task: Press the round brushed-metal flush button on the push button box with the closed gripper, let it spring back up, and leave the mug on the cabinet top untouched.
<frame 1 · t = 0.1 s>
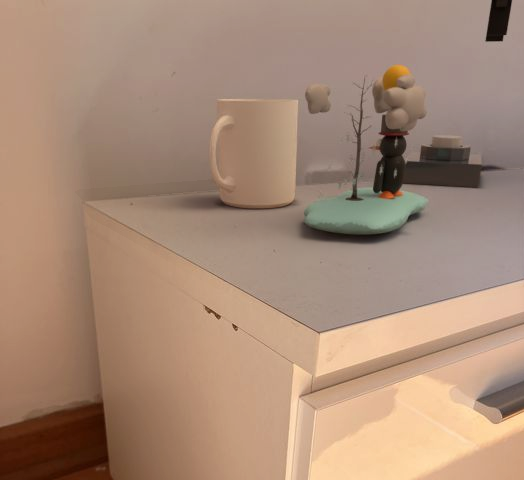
hand: (495, 38, 88), 20 cm above the table, tool pointing down, fingers open, 13 cm apart
push button box: (441, 179, 90), on the table
mug: (252, 205, 70), on the table
flush button: (446, 142, 88), point 5 cm above the table, slide at 0.1 cm
penguin figurine: (366, 223, 62), on the table
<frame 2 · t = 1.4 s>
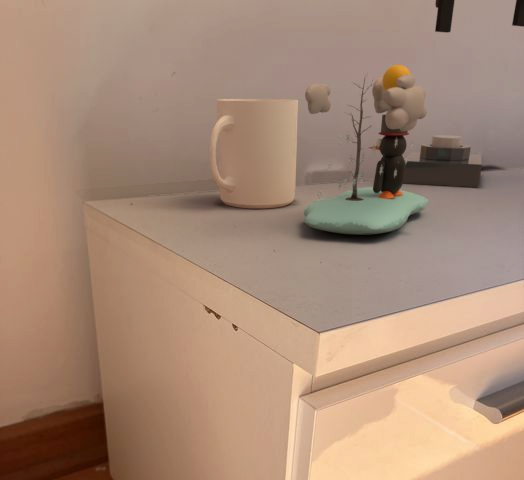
hand: (479, 29, 84), 21 cm above the table, tool pointing down, fingers open, 13 cm apart
nothing on the table moved.
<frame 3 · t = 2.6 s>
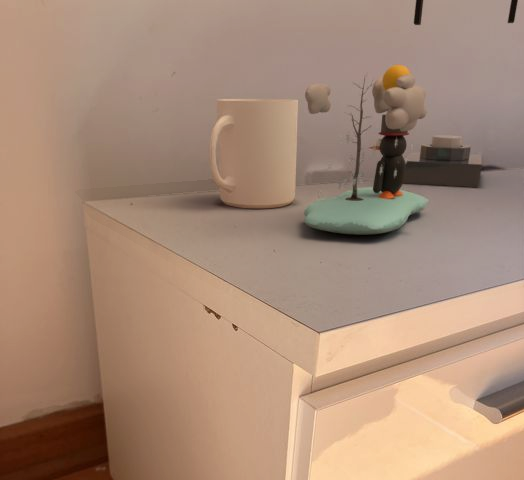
hand: (462, 23, 81), 21 cm above the table, tool pointing down, fingers open, 12 cm apart
nothing on the table moved.
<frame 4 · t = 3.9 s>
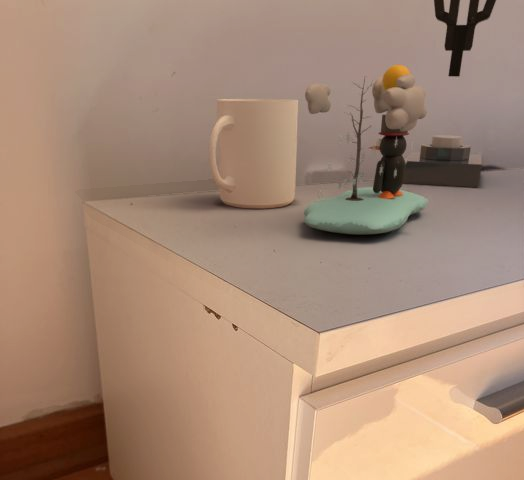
hand: (454, 76, 84), 15 cm above the table, tool pointing down, fingers closed
nothing on the table moved.
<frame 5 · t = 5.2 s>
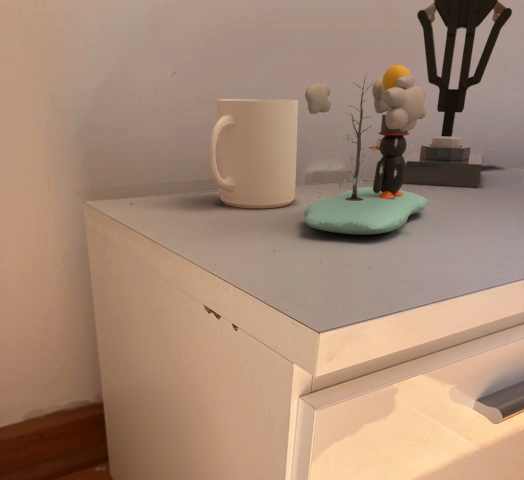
hand: (446, 135, 87), 6 cm above the table, tool pointing down, fingers closed
flush button: (446, 143, 88), point 5 cm above the table, slide at -0.1 cm, touching gripper
everything else where it was.
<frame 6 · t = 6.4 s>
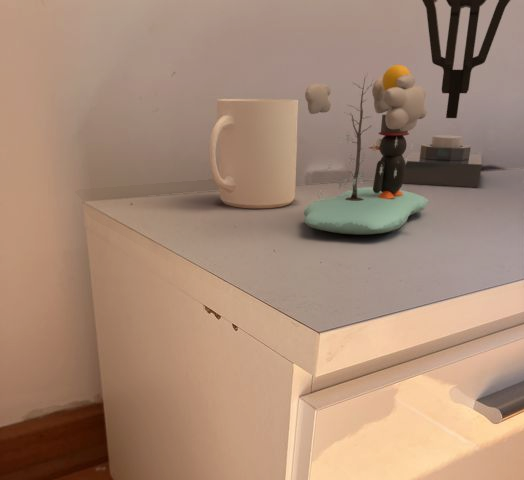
hand: (451, 117, 86), 9 cm above the table, tool pointing down, fingers closed
flush button: (446, 142, 88), point 5 cm above the table, slide at 0.1 cm
everything else where it was.
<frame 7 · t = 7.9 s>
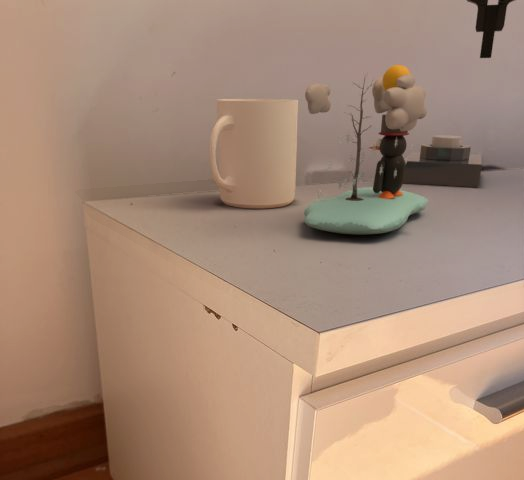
hand: (485, 57, 83), 17 cm above the table, tool pointing down, fingers closed
nothing on the table moved.
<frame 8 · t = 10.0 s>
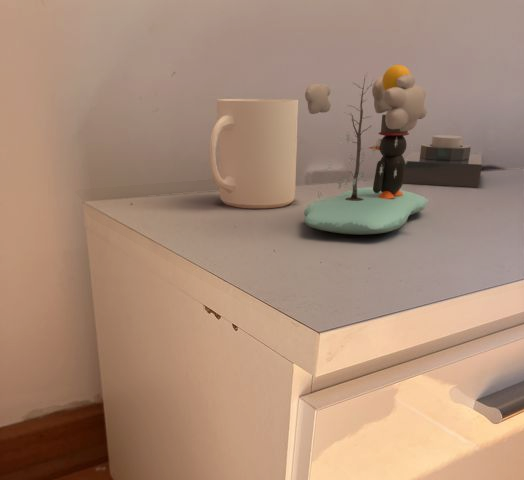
nothing on the table moved.
at the end: flush button pushed in 1.0 cm at the most during the clip, back to where it started at the end; flush button slide at 0.1 cm; mug moved 0.2 cm from its start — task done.
